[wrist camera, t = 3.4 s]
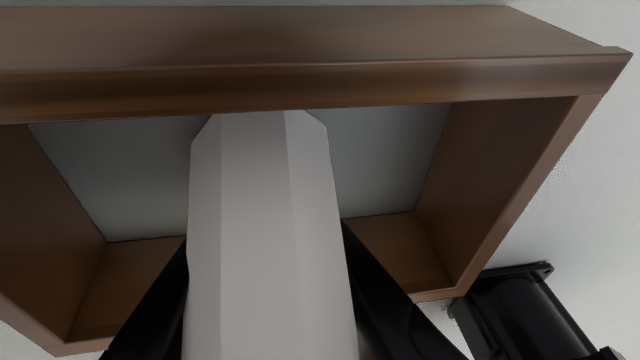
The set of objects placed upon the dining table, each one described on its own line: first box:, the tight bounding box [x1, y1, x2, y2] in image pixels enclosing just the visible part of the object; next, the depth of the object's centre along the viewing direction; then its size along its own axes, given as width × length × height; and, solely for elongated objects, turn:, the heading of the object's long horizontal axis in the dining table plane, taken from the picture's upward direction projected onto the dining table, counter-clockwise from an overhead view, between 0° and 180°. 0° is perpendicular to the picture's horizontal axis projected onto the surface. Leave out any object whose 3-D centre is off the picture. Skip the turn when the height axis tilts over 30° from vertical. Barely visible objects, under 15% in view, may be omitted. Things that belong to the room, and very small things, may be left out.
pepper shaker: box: [181, 110, 359, 360], centre depth 8 cm, size 5×5×11 cm
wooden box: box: [0, 6, 633, 357], centre depth 11 cm, size 17×11×4 cm, turn 88°
